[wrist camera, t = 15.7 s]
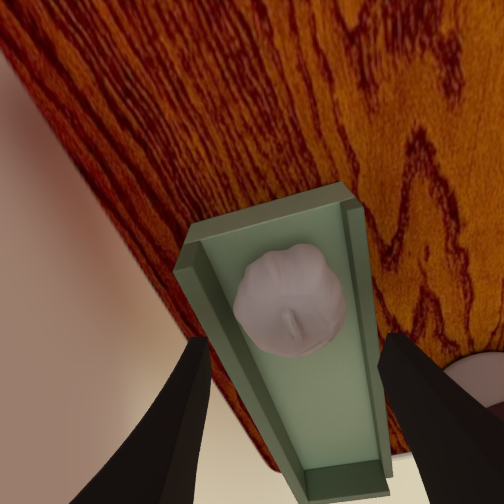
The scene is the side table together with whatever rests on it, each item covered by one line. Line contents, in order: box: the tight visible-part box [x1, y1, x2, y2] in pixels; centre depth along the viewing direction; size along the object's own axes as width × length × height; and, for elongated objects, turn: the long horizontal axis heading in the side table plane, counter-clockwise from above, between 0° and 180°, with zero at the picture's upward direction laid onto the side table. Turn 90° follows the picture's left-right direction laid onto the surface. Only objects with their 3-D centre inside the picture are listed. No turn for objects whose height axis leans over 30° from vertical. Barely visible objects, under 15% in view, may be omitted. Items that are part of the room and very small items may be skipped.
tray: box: [173, 181, 393, 504], centre depth 22 cm, size 28×9×5 cm, turn 17°
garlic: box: [233, 244, 346, 358], centre depth 14 cm, size 6×5×5 cm
